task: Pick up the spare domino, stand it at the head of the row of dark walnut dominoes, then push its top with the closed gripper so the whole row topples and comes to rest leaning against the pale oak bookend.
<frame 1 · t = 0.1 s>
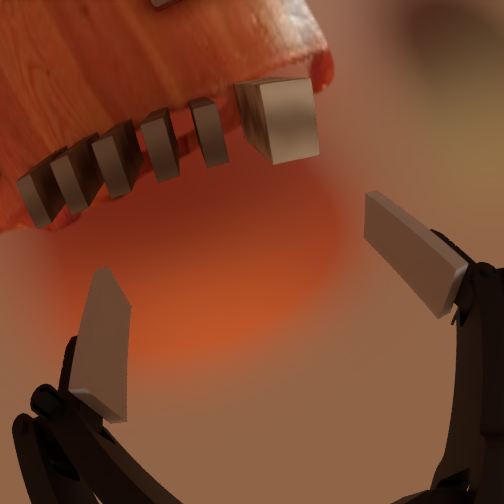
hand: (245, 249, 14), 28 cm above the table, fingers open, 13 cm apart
domino 3: (129, 142, 34), on the table
bookend block: (257, 107, 36), on the table
domino 1: (67, 167, 33), on the table
domino 2: (96, 155, 34), on the table
domino 4: (164, 130, 35), on the table
domino 5: (201, 120, 35), on the table
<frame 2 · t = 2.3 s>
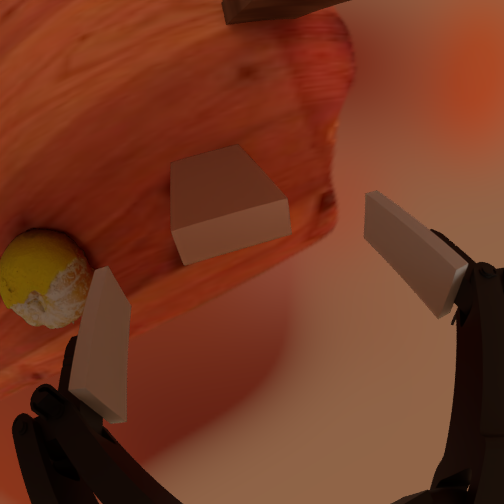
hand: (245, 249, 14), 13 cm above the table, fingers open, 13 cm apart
fruit: (52, 266, 26), on the table
domino 1: (259, 9, 17), on the table
spare domino: (207, 164, 24), on the table
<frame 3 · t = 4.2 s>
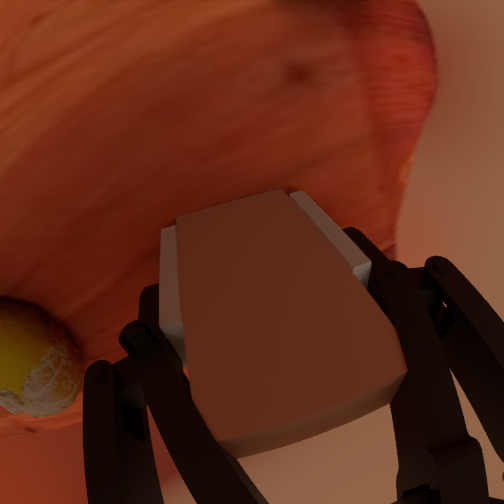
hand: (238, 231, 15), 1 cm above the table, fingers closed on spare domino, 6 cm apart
fruit: (28, 338, 18), on the table
spare domino: (233, 218, 16), on the table, touching gripper
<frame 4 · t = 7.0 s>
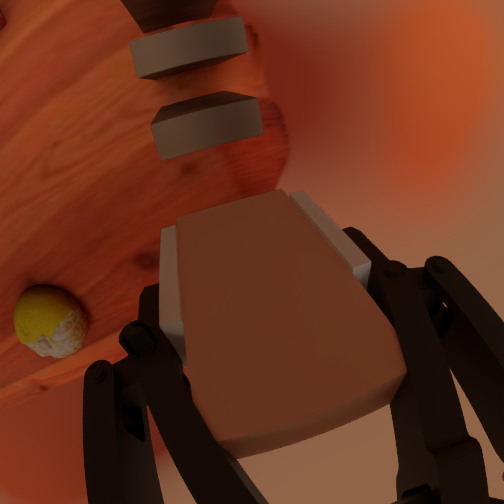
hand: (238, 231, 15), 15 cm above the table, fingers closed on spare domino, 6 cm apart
domino 3: (174, 14, 19), on the table
fruit: (55, 310, 33), on the table
domino 1: (195, 108, 24), on the table
domino 2: (184, 60, 21), on the table
spare domino: (233, 219, 16), point 14 cm above the table, touching gripper
when the fingers open (2 cm above the table, at t = 9.8 s): spare domino stays where it is, on the table.
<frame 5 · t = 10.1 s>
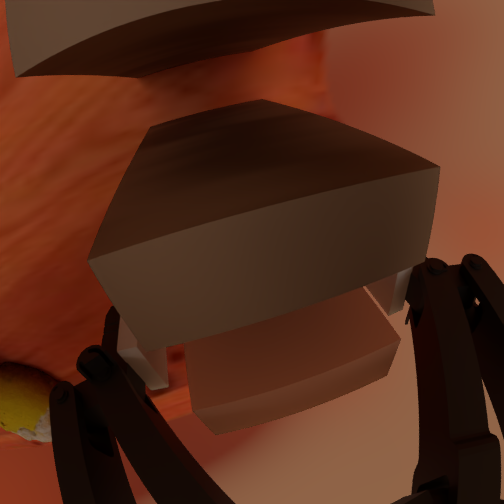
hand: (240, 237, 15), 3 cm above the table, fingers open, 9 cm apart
fruit: (35, 386, 23), on the table
domino 1: (210, 130, 14), on the table
domino 2: (191, 42, 11), on the table
spare domino: (229, 211, 17), on the table
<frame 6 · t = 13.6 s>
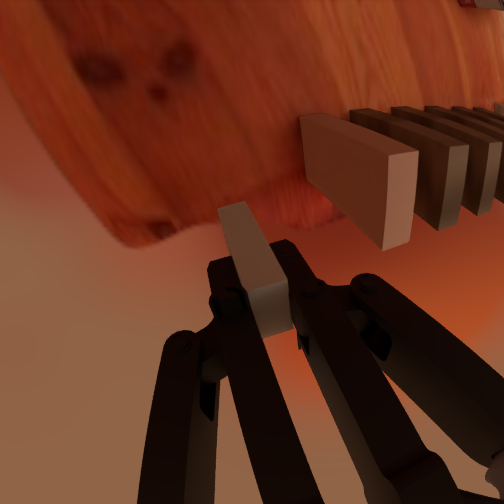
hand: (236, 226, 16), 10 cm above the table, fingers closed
domino 3: (431, 131, 26), on the table
bookend block: (501, 128, 27), on the table
domino 1: (361, 139, 25), on the table
domino 2: (399, 134, 25), on the table
domino 4: (456, 129, 26), on the table
domino 5: (476, 128, 27), on the table
spare domino: (314, 146, 24), on the table
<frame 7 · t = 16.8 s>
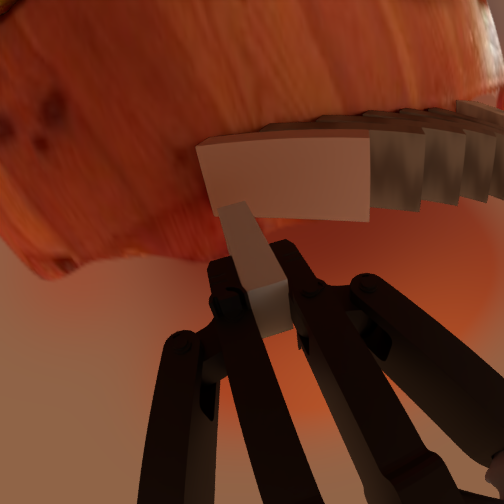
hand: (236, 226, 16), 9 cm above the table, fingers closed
domino 3: (367, 142, 24), point 1 cm above the table, tilted 40°, touching domino 2, domino 4
bookend block: (466, 130, 26), on the table
domino 1: (270, 161, 23), point 1 cm above the table, tilted 53°, touching domino 2, spare domino
domino 2: (322, 150, 23), point 1 cm above the table, tilted 47°, touching domino 1, domino 3
domino 4: (403, 137, 25), point 1 cm above the table, tilted 31°, touching domino 3, domino 5
domino 5: (431, 134, 25), on the table, tilted 20°, touching bookend block, domino 4
spare domino: (211, 177, 22), point 1 cm above the table, tilted 57°, touching domino 1
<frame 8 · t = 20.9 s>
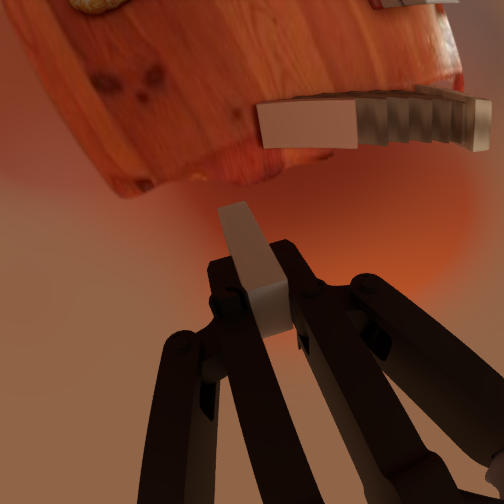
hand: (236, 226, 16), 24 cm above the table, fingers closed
domino 3: (351, 111, 37), point 1 cm above the table, tilted 39°, touching domino 2, domino 4
bookend block: (426, 106, 39), on the table
domino 1: (298, 118, 36), point 1 cm above the table, tilted 49°, touching spare domino
domino 2: (322, 114, 36), point 1 cm above the table, tilted 47°, touching domino 3
domino 4: (375, 108, 37), point 1 cm above the table, tilted 31°, touching domino 3, domino 5
domino 5: (397, 107, 38), on the table, tilted 20°, touching bookend block, domino 4
spare domino: (263, 124, 35), point 1 cm above the table, tilted 54°, touching domino 1
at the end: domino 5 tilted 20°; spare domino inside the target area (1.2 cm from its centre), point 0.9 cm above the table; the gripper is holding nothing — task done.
